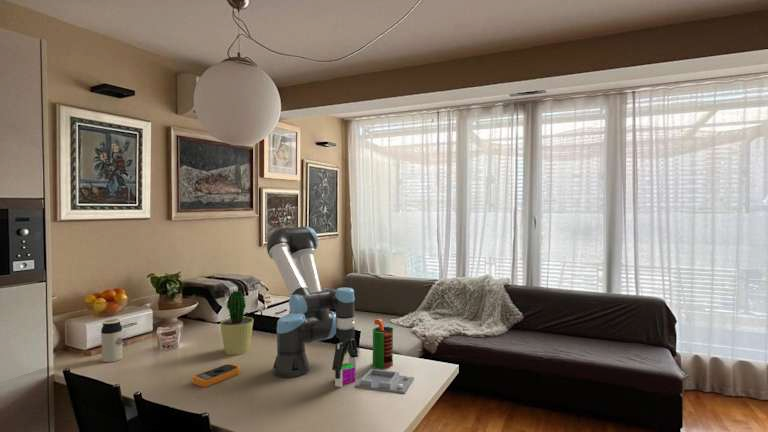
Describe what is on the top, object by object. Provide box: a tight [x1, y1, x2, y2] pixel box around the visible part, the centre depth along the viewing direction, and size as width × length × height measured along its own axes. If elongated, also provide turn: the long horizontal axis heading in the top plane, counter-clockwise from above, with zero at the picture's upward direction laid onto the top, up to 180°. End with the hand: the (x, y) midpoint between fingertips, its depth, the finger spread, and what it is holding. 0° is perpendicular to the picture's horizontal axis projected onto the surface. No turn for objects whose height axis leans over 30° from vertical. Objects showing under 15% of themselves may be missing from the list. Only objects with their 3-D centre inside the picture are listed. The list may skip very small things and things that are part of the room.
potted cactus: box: [219, 290, 255, 356], centre depth 207 cm, size 15×15×30 cm
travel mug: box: [100, 318, 123, 363], centre depth 197 cm, size 8×8×18 cm
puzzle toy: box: [341, 362, 356, 385], centre depth 172 cm, size 6×6×6 cm
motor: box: [372, 318, 394, 370], centre depth 188 cm, size 10×9×20 cm
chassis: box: [354, 368, 415, 394], centre depth 169 cm, size 20×14×3 cm
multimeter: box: [191, 363, 241, 388], centre depth 175 cm, size 9×18×3 cm, turn 146°
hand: (345, 379), depth 172 cm, fingers open, 13 cm apart
